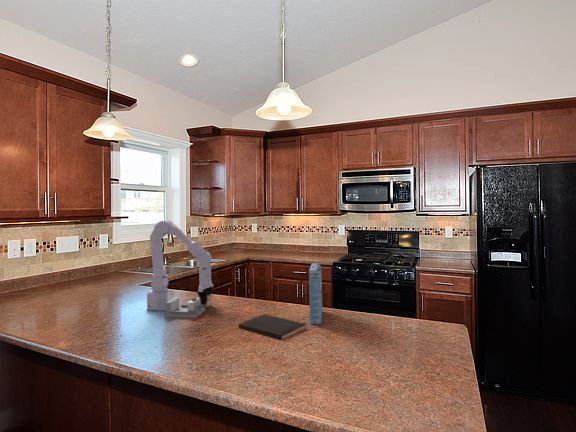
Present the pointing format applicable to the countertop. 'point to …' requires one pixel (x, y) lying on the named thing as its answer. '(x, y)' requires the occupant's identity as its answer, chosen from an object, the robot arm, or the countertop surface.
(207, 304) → the block
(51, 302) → the countertop surface
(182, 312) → the base
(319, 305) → the gum box
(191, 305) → the sliding jaw
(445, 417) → the countertop surface
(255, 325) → the hardcover book
